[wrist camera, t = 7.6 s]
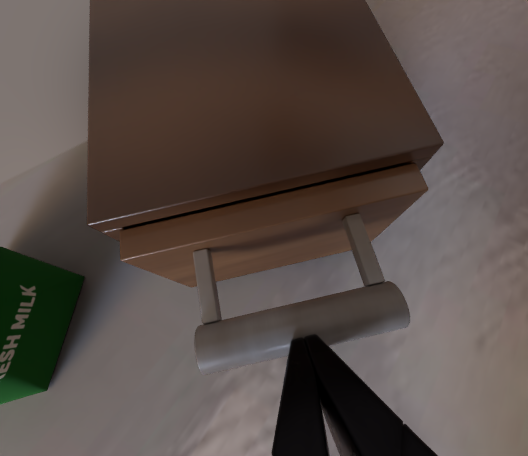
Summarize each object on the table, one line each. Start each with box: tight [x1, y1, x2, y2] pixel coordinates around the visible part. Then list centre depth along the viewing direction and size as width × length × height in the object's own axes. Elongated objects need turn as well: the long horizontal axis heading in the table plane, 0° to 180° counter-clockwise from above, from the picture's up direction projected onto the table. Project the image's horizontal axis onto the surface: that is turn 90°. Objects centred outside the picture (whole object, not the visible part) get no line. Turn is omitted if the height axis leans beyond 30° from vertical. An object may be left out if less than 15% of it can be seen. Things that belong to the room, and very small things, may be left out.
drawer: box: [120, 163, 428, 375], centre depth 15 cm, size 18×11×8 cm, turn 12°
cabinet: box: [87, 0, 444, 241], centre depth 16 cm, size 15×13×10 cm
